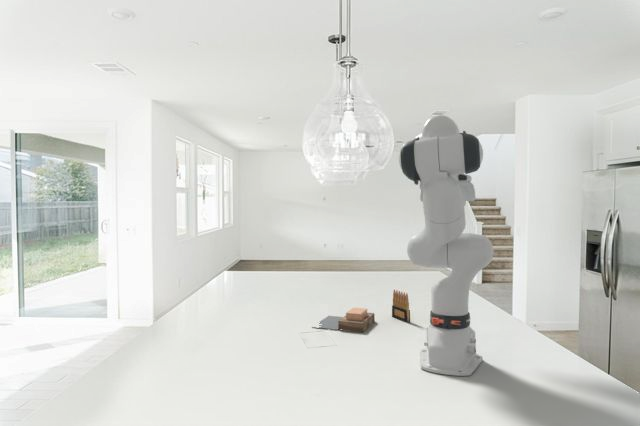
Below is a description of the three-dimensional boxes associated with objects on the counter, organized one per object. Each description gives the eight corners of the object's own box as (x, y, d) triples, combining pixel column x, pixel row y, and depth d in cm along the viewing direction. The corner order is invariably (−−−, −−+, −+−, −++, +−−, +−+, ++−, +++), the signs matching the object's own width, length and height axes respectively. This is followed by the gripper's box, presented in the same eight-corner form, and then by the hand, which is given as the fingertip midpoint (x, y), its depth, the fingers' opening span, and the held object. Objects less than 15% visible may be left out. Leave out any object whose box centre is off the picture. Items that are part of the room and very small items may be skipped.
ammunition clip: (410, 322, 171) (410, 293, 170) (406, 322, 170) (406, 293, 170) (395, 316, 180) (395, 288, 180) (391, 316, 180) (391, 289, 179)
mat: (337, 330, 161) (337, 329, 161) (311, 327, 165) (311, 326, 165) (352, 318, 177) (352, 317, 177) (328, 316, 182) (328, 315, 182)
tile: (360, 320, 162) (360, 314, 162) (346, 319, 164) (346, 312, 164) (367, 314, 170) (367, 308, 170) (353, 313, 172) (353, 307, 172)
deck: (362, 332, 158) (362, 323, 158) (338, 329, 162) (338, 320, 162) (374, 321, 172) (374, 313, 172) (351, 319, 176) (351, 311, 176)
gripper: (418, 178, 160) (418, 214, 160) (474, 175, 152) (475, 213, 152) (421, 179, 166) (421, 213, 166) (475, 177, 158) (476, 213, 158)
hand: (447, 213), depth 159 cm, fingers open, 8 cm apart
